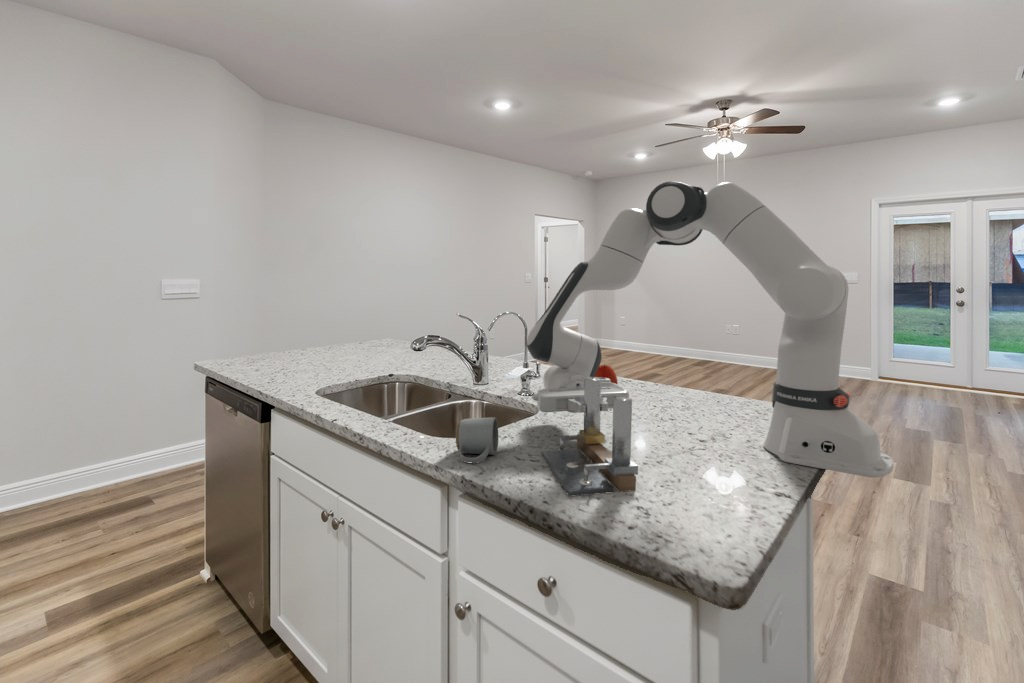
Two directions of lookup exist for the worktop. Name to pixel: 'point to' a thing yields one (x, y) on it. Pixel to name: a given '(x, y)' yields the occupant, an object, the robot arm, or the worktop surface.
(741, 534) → the worktop surface
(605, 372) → the red egg shape
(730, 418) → the worktop surface
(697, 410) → the worktop surface
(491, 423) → the ceramic mug
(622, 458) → the fixed leg
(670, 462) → the worktop surface
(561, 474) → the hole plate
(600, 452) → the rail
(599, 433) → the sliding leg
